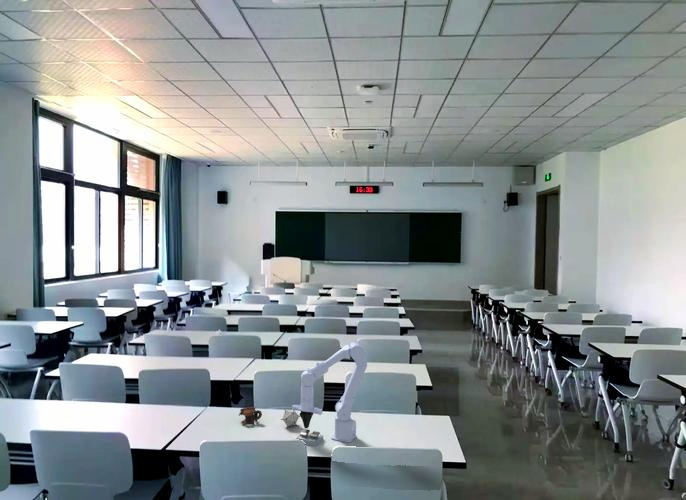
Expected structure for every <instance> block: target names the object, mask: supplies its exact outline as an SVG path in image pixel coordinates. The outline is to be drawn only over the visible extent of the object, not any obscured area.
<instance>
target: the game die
mask: <svg viewBox="0 0 686 500" xmlns="http://www.w3.org/2000/svg"><path fill="white" fill-rule="evenodd" d="M299 417H300V418H301V416H300V414H298V412H297V411H296V410H292V409H288V410H287V409H284V413H283V417H282V418H281V419H280V420H281V421H283V422H284V423H285V425H286V429H288V428H289V427H290V426H291V427H292V426H294V425H295V426H298V425H297V422H298V420H299Z"/></svg>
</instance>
